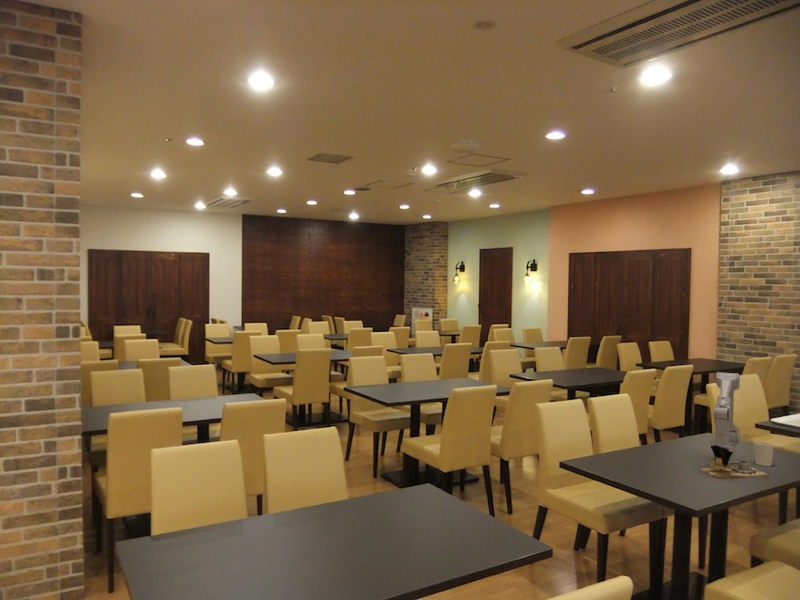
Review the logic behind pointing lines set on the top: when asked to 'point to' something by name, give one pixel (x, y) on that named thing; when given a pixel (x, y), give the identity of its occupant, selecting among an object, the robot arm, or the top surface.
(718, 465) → the brass gear
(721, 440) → the robot arm
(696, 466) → the top surface
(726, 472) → the gear board
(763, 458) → the white cup
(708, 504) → the top surface
